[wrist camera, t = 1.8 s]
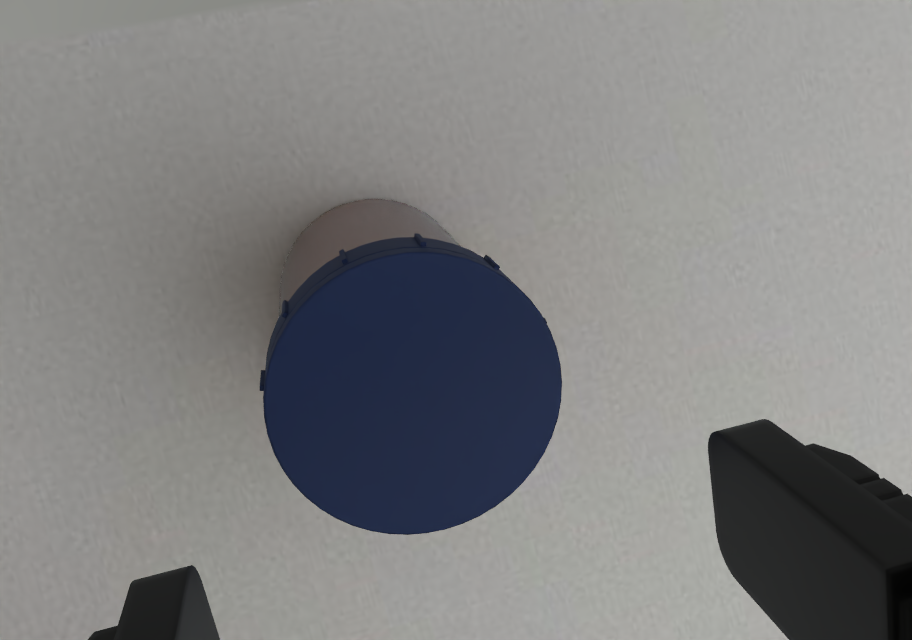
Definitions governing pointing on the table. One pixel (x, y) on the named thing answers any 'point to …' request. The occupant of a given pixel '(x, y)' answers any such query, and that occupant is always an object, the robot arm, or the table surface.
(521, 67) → the table surface
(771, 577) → the robot arm
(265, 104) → the table surface
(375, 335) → the lid
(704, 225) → the table surface
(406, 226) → the jar
